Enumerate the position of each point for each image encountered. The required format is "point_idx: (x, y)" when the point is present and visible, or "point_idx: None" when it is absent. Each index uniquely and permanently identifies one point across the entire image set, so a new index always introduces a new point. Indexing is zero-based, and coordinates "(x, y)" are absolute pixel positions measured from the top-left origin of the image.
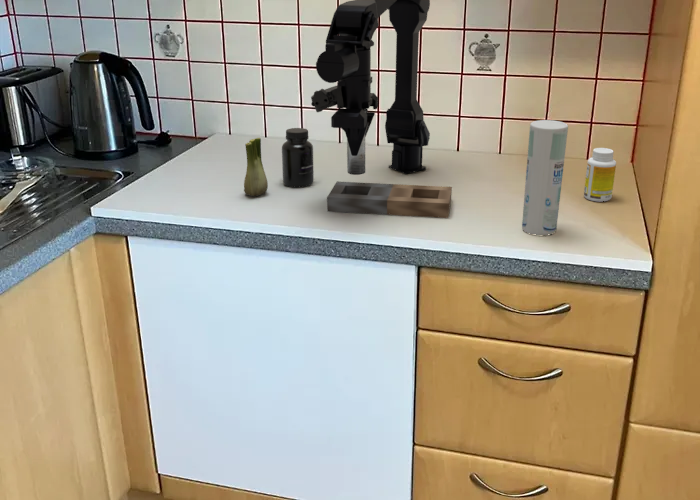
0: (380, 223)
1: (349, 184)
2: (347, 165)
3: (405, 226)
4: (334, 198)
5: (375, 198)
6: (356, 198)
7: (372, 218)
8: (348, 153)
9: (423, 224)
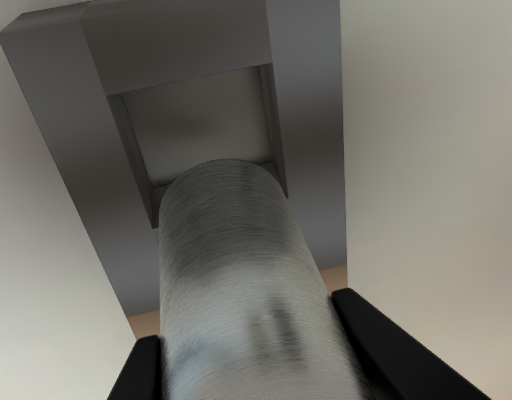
0: (25, 284)
1: (296, 78)
2: (195, 198)
3: (49, 352)
4: (20, 84)
5: (124, 274)
6: (77, 204)
7: (60, 242)
8: (176, 298)
9: (99, 380)
